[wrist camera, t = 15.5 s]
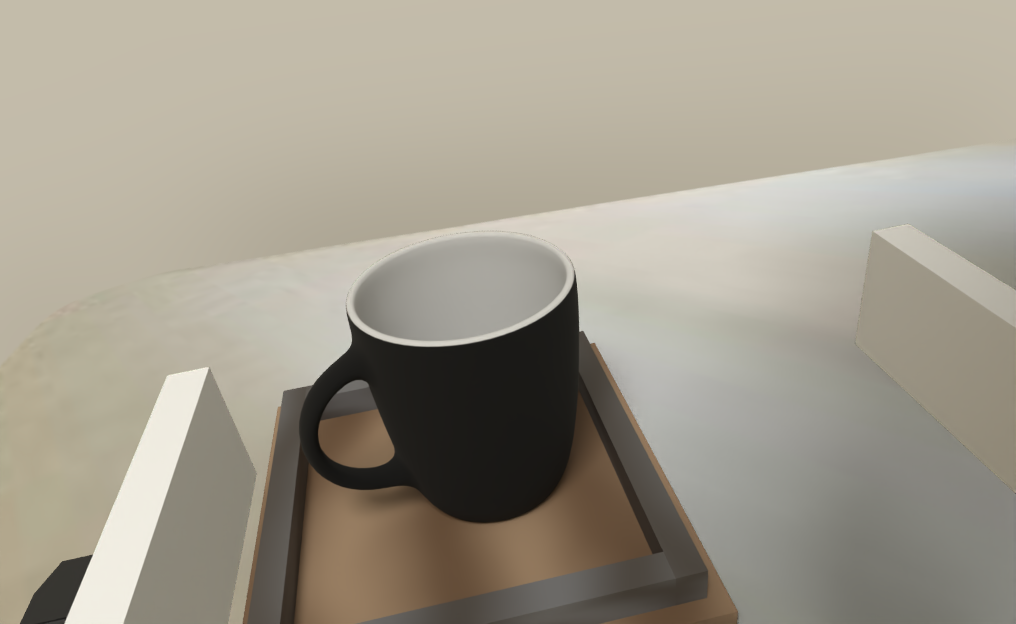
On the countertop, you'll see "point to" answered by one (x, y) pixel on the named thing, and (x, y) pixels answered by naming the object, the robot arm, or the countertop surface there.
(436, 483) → the mug
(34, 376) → the countertop surface
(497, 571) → the wooden tray
